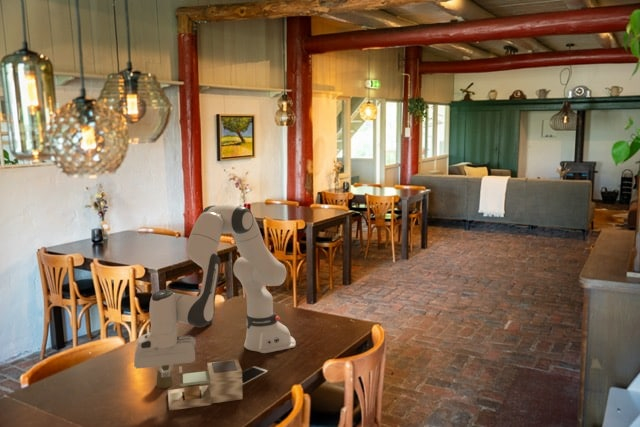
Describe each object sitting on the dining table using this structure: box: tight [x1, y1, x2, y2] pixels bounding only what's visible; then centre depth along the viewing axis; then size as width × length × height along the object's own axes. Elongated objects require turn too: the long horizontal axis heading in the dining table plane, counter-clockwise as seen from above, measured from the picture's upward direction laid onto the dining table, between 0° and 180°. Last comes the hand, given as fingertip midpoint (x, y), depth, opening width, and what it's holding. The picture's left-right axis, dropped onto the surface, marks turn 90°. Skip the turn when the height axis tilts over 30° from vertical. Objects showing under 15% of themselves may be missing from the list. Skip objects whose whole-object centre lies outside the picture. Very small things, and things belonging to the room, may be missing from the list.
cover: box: [178, 365, 210, 387], centre depth 192 cm, size 14×7×4 cm, turn 107°
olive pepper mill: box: [155, 365, 174, 389], centre depth 203 cm, size 6×6×11 cm
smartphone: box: [242, 365, 269, 386], centre depth 212 cm, size 8×1×15 cm
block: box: [183, 384, 201, 400], centre depth 193 cm, size 5×5×6 cm
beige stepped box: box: [167, 359, 243, 411], centre depth 193 cm, size 25×12×11 cm, turn 107°
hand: (165, 376), depth 189 cm, fingers closed
